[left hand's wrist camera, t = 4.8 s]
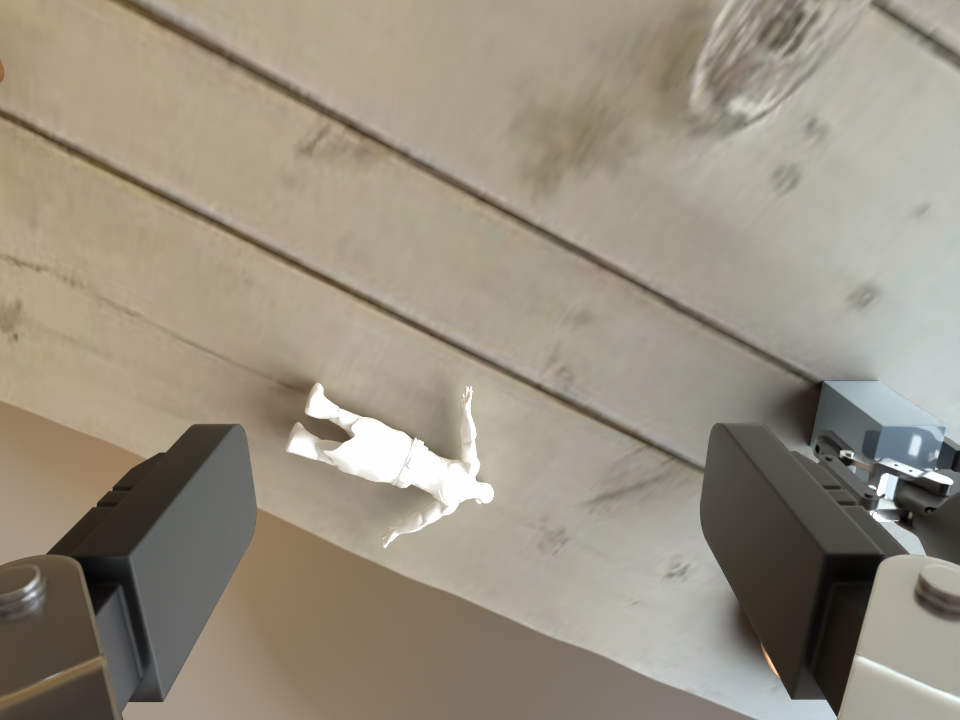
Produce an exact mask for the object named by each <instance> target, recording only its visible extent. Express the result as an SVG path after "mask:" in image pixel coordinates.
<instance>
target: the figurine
mask: <svg viewBox="0 0 960 720" xmlns="http://www.w3.org/2000/svg"><path fill="white" fill-rule="evenodd" d="M471 389H472V387H469V390H468V387H466V389H465V396H464V394H462V403H461V407H462V422H461V427H460V435H461V439H462V445H461V452H462V460H450V459H446V458H443V457H440V456H437V455H436V454H434V453H433V452H432V451H428V448H427V447H426V446H424V445H423V444H424V442H423V441H421V440H419V439H417V438H414V439H413V440H412V439H411V438H410V437H409V436H408V435H407V434H405V433H404V432H402V431H398V430H395V429H392V428H390V427H388V426H386V425H385V424H383V423H382V422H380V421H378V420H375V419H373V418H368V417H361V416H359V415H356V414H353V413H351V412H348V411H346V410H344V409H341V408H340V409H339V407H338V406H337V405H335V404H333V403H332V402H330V401H329V400H328V399H327V398H326V397H325V396H324V395H323V388H322V386H321V384H319V383H315V384H314V386H313V388H312V390H311V392H310V394H309V396H308V401H307V404H306V407H305V410H304V411H305V413H306V414H307V415H309V416H312V417H315V418H319V419H329V420H330V421H331V422H333V423H335V424H337V425H338V426H340V427H341V428H343V429H345V430H346V432H347V433H348V435H349V436H350V437H351V438H352V439H350V440H348V441H346V442H344V443H340V442H336V441H331V440H321V439H320V438H318V437H316V436H314V435H312V434H311V433H309V432H308V431H307V430H306V429H305V428H304V427H303V425H302V424H301V423H300V422H297V423H296V424H295V425H294V427H293V429H292V431H291V434H290V437H289V439H288V443H287V446H286V449H285V451H286V452H290V453H294V454H297V455H301V456H304V457H307V458H310V459H317V460H319V461H323V462H326V463H328V464H330V465H332V466H335V467H336V468H337V469H339V470H341V471H342V472H344V473H349V474H353V475H357V476H360V477H362V478H364V479H367V480H370V481H373V482H387V483H391V484H392V485H396V486H398V487H399V488H406V487H408V486H409V485H410V484H412V485H414V486H416V487H419V488H421V489H423V490H425V491H427V492H429V493H431V494H432V496H433V497H434V498H435V499H437V500H436V501H434V502H432V503H430V504H429V505H428V506H426V507H425V508H424V510H423V511H417V512H414V513H412V514H411V515H410V516H409V517H408V518H407V519H406V520H405V521H404V522H403V523H401V524H400V525H399V526H396V527H392V528H391V527H389V526H388V527H387V528H388V529H389V531H388V532H387V534H385V535H384V536H382V537H381V538H382V539H384V538H385V539H384V540H383V541H382V543H381V545H382V546H383V547H384V548H386V547H387V545H388V544H389V542H391V541H392V540H393V539H394V538H395V537H396V536H398V535H399V534H402V533H410V532H414V531H418V530H420V529H421V528H422V527H424V526H425V525H427V524H429V523H432V522H434V521H436V520H437V519H439V518H440V517H441V516H442V515H448V514H450V513H452V512H453V511H454V510H455V509H456V507H457V505H458V504H459V503H460V502H462V501H464V500H465V499H470V498H474V500H475V501H476V502H478V503H479V504H480V502H482V503H488V502H490V501H491V500H492V498H493V495H494V492H493V489H492V487H491V486H490V485H489V484H488V483H483V482H477V481H476V479H475V475H476V474H477V472H478V470H479V466H480V464H479V461H478V459H477V457H476V449H475V441H474V439H475V436H476V430H475V425H474V422H473V420H472V417H471V414H470V403H471V402H470V400H471V398H472V395H471V394H472V390H471Z"/></svg>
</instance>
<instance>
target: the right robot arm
mask: <svg viewBox="0 0 960 720" xmlns="http://www.w3.org/2000/svg"><path fill="white" fill-rule="evenodd" d="M854 451H855V450H854V449H852V448H851V447H850V446H849V445H848V444H847V443H845V442H844V441H843V440H842V439H841V438H840V437H839V436H837V435H836V434H835V433H834V432H833V431H832V430H820V431H819V434H818V436H816V440H815V445H814V450H813V454H814V456H815V457H816V458H818V460H819V463H818V464H819V465H821V466H823V467H824V468H825V469H826V470H827V471H828V472H829V473H830V474H831V475H832V476H833V477H834V478H835V479H836V480H837V481H838V482H839V483H840V484H841V485H842V486H843V490H847V491H848V492H849V493H850V494H851V495H852V496H853V497H854V498H855V499H856V500H857V501H858V505H859V506H863V507H864V508H865V509H866V510H867V511H868V512H869V513H870V514H871V515H872V516H873V517H874V518H875V519H876V520H877V521H894V522H895V523H896V524H897V525H898V526H900V527H902V528H904V529H906V530H908V531H910V532H911V533H913V534H915V535H916V536H917V537H918V538H919V540H920V542H921V544H922V546H923V548H924V550H925V553H926V555H927V556H928V557H933V558H938V559H941V560H945V561H948V562H951V563H954V564H957V565H959V566H960V446H959V445H958V444H956V443H955V442H954V441H952V440H951V439H949V438H947V437H945V436H944V439H943V442H942V446H941V449H940V453H939V456H938V460H937V463H936V466H935V467H937V468H938V469H939V470H933V471H927V470H918V469H915V468H913V467H910V466H908V465H905V464H902V463H900V462H897V461H894V460H892V459H889V458H886V457H884V458H881V459H879V460H874V459H871V458H869V457H866V456H864V455H861V454H858V453H856V452H854ZM856 467H858V468H860V469H863V470H865V471H867V472H868V473H869V479H868V483H866V482H863V481H862V480H861V479H860V478H859V477H858V476H857V475H856V474H855V471H856ZM889 474H891V475H893V476H896V477H898V480H897V483H896V487H895V491H894V495H893V500H892V499H889V498H888V497H887V496H886V495H885V487H886V483H887V479H888V475H889Z"/></svg>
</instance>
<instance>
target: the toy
mask: <svg viewBox="0 0 960 720" xmlns="http://www.w3.org/2000/svg"><path fill="white" fill-rule="evenodd" d="M3 77H4V69H3V66H2V63H1V61H0V83H1V81H2V80H3Z"/></svg>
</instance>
